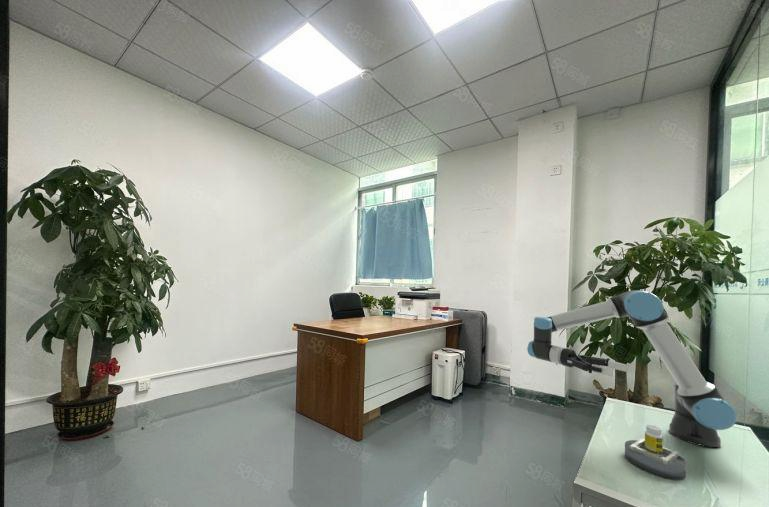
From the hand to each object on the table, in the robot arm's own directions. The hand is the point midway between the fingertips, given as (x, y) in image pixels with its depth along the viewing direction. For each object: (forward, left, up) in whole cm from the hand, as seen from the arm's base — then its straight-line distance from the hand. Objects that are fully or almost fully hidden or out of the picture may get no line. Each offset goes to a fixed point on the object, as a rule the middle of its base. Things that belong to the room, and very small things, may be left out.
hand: (620, 370), depth 119 cm
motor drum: (-4, +11, -28) cm, 31 cm away
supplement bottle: (-4, +11, -25) cm, 27 cm away
